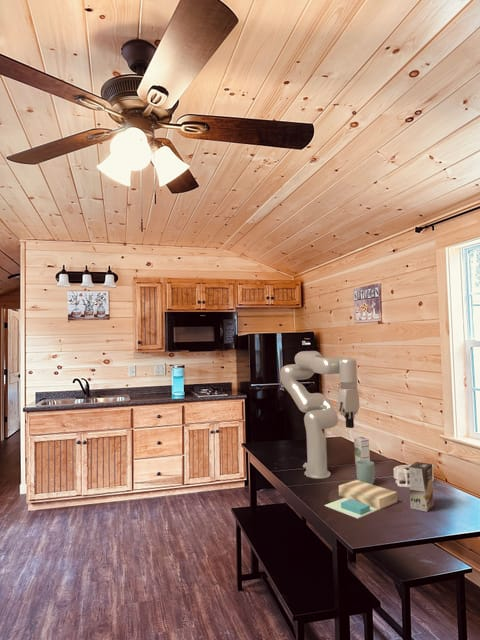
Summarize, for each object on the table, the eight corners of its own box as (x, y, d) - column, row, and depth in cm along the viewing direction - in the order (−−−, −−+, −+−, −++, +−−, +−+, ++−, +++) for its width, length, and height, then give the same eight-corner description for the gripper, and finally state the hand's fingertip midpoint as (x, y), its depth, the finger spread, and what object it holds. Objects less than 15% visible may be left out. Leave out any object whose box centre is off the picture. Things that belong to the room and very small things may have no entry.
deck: (338, 495, 180) (338, 485, 180) (356, 489, 187) (356, 479, 187) (379, 509, 164) (379, 499, 164) (397, 502, 171) (396, 491, 171)
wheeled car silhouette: (427, 477, 202) (426, 461, 202) (441, 484, 191) (440, 468, 191) (388, 480, 199) (387, 464, 199) (400, 488, 188) (400, 471, 188)
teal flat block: (350, 498, 169) (350, 504, 169) (340, 502, 165) (341, 507, 165) (369, 505, 162) (369, 510, 162) (360, 509, 158) (360, 514, 158)
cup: (363, 488, 188) (362, 465, 189) (353, 482, 195) (353, 460, 196) (378, 486, 190) (377, 463, 191) (368, 481, 198) (367, 459, 198)
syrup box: (370, 466, 220) (369, 438, 221) (361, 468, 218) (360, 439, 219) (363, 463, 225) (362, 436, 226) (354, 465, 223) (353, 437, 224)
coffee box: (427, 512, 160) (425, 469, 161) (410, 508, 164) (408, 466, 165) (434, 505, 167) (432, 463, 168) (417, 501, 171) (415, 461, 172)
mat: (324, 506, 169) (324, 505, 169) (344, 498, 176) (344, 497, 176) (357, 518, 156) (357, 517, 156) (378, 510, 163) (378, 509, 163)
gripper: (352, 384, 197) (353, 424, 196) (330, 386, 188) (332, 428, 187) (365, 385, 191) (367, 426, 190) (344, 388, 182) (345, 431, 181)
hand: (349, 427), depth 188 cm, fingers closed
